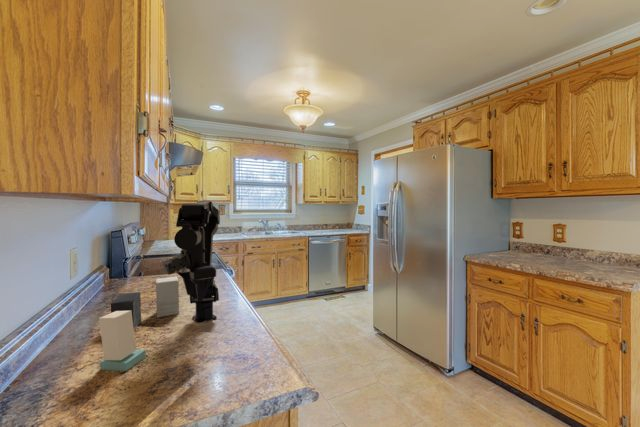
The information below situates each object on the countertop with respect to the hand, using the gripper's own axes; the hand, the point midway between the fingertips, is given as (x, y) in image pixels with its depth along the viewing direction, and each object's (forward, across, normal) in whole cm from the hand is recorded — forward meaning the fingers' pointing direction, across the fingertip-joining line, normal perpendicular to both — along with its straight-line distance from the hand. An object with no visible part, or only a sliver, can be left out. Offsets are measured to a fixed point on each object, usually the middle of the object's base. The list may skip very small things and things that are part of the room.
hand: (194, 297), depth 88 cm
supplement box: (+12, -29, 0) cm, 31 cm away
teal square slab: (+11, +6, -19) cm, 23 cm away
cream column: (+9, +6, -19) cm, 22 cm away
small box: (+12, -22, -14) cm, 29 cm away
